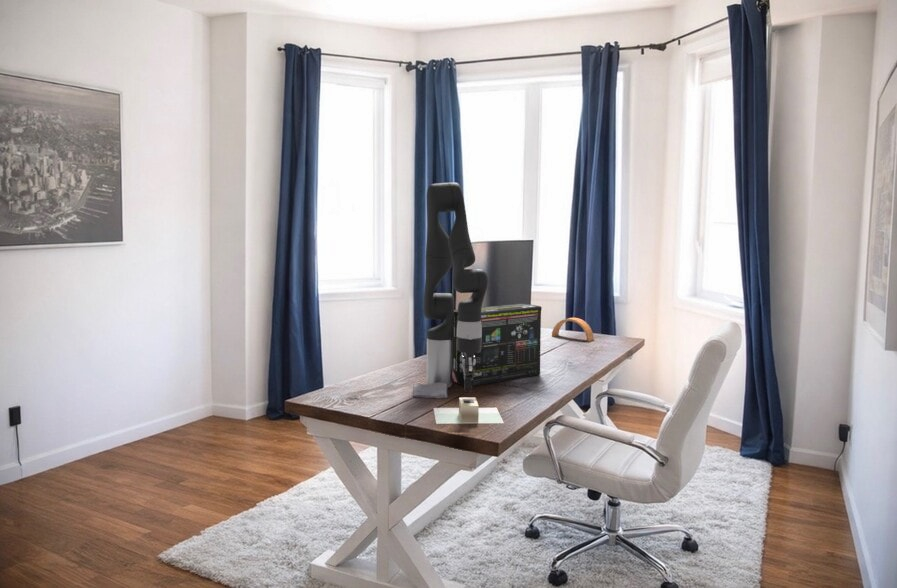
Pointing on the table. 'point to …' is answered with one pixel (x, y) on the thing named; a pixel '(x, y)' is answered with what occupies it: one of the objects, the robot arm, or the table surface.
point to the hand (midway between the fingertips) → (468, 391)
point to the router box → (503, 344)
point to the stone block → (430, 390)
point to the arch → (579, 321)
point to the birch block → (468, 409)
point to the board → (453, 418)
